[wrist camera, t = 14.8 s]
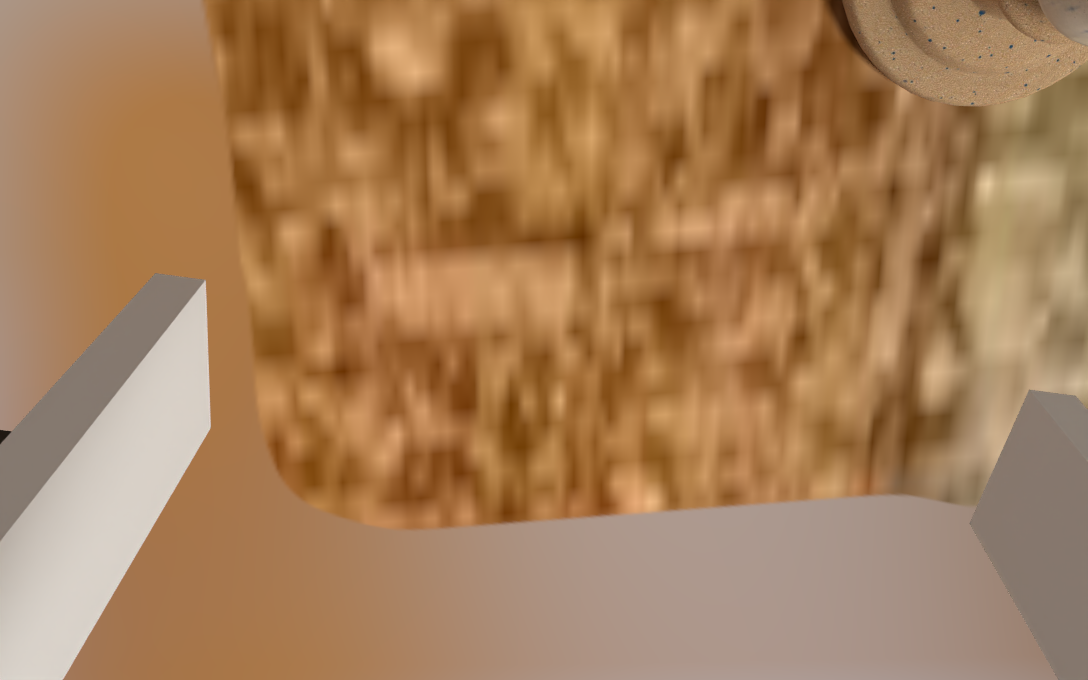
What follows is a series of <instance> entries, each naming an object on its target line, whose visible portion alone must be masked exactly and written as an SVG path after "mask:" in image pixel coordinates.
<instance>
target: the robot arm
mask: <svg viewBox="0 0 1088 680" xmlns="http://www.w3.org/2000/svg"><path fill="white" fill-rule="evenodd" d="M208 364H209V363H208V336H207V305H206V280H202V279H194V278H187V277H179V276H172V275H164V274H157V273H155V274H154V276H153V277H152V278H151V279H150V280H149V281H148V282H147V283H146V284H145V285H144V287H143V288H142V289H141V290H140V291H139V292H138V293H137V294H136V295H135V297H134V298H133V299H132V300H131V301H130V302H129V303H128V304H127V305H126V306H125V307H124V309H123V310H122V311H121V312H120V313H119V314H118V315H117V316H116V318H115V319H114V320H113V321H112V322H111V323H110V324H109V325H108V326H107V328H106V329H104V331H103V332H102V333H101V334H100V335H99V336H98V337H97V338H96V339H95V341H94V342H93V343H92V344H91V345H90V346H89V347H88V348H87V349H86V351H85V352H84V353H83V354H82V355H81V356H80V357H79V358H78V359H77V361H75V363H74V364H73V365H72V366H71V367H70V368H69V369H68V370H67V371H66V372H65V374H64V375H63V376H62V377H61V378H60V379H59V380H58V381H57V382H56V383H55V385H54V386H53V387H52V388H51V389H50V390H49V391H48V392H47V394H46V395H45V396H44V397H43V398H42V399H41V400H40V401H39V402H38V403H37V404H36V406H35V407H34V408H33V409H32V410H31V411H30V412H29V413H28V414H27V415H26V417H25V418H24V419H23V420H22V421H21V422H20V423H19V424H18V425H17V426H16V428H15V429H14V430H13V431H12V432H11V431H3V430H0V680H63V678H64V677H65V675H66V673H67V672H68V670H69V668H70V666H71V665H72V663H73V661H74V659H75V658H76V656H77V654H78V652H79V651H80V649H81V648H82V646H83V644H84V643H85V641H86V639H87V637H88V636H89V634H90V632H91V631H92V629H93V627H94V625H95V624H96V622H97V620H98V619H99V617H100V615H101V614H102V612H103V610H104V608H105V607H106V605H107V603H108V602H109V600H110V598H111V596H112V595H113V593H114V591H115V590H116V588H117V586H118V585H119V583H120V581H121V580H122V578H123V576H124V574H125V573H126V571H127V569H128V568H129V566H130V564H131V563H132V561H133V559H134V557H135V556H136V554H137V552H138V550H139V549H140V547H141V546H142V544H143V542H144V540H145V539H146V537H147V535H148V534H149V532H150V530H151V528H152V527H153V525H154V523H155V521H156V520H157V518H158V517H159V515H160V513H161V511H162V510H163V508H164V506H165V505H166V503H167V501H168V499H169V498H170V496H171V494H172V493H173V491H174V489H175V488H176V486H177V484H178V483H179V481H180V479H181V477H182V476H183V474H184V472H185V471H186V469H187V467H188V465H189V464H190V462H191V460H192V459H193V457H194V455H195V454H196V452H197V450H198V448H199V446H200V445H201V443H202V442H203V440H204V438H205V436H206V435H207V433H208V431H209V430H210V428H211V423H210V394H209V366H208ZM970 525H971V527H972V529H973V531H974V532H975V534H976V536H977V537H978V539H979V541H980V543H981V544H982V546H983V548H984V550H985V552H986V553H987V555H988V557H989V558H990V560H991V562H992V564H993V566H994V567H995V569H996V571H997V573H998V574H999V576H1000V578H1001V580H1002V581H1003V583H1004V585H1005V587H1006V588H1007V590H1008V592H1009V594H1010V596H1011V597H1012V599H1013V601H1014V602H1015V604H1016V606H1017V608H1018V610H1019V611H1020V613H1021V615H1022V617H1023V618H1024V620H1025V622H1026V624H1027V625H1028V627H1029V629H1030V631H1031V632H1032V634H1033V636H1034V638H1035V639H1036V641H1037V643H1038V645H1039V647H1040V648H1041V650H1042V652H1043V653H1044V655H1045V657H1046V659H1047V661H1048V662H1049V664H1050V666H1051V668H1052V669H1053V671H1054V673H1055V675H1056V676H1057V678H1058V680H1088V410H1087V408H1086V407H1085V406H1084V405H1083V404H1082V403H1081V402H1080V400H1079V399H1078V398H1077V397H1076V396H1073V395H1065V394H1058V393H1050V392H1043V391H1035V390H1029V392H1028V394H1027V396H1026V398H1025V401H1024V403H1023V405H1022V407H1021V410H1020V412H1019V414H1018V416H1017V418H1016V421H1015V423H1014V425H1013V427H1012V430H1011V432H1010V434H1009V436H1008V439H1007V441H1006V443H1005V445H1004V447H1003V450H1002V452H1001V454H1000V456H999V459H998V461H997V463H996V465H995V467H994V470H993V472H992V474H991V476H990V479H989V481H988V483H987V485H986V488H985V490H984V492H983V494H982V496H981V499H980V501H979V503H978V505H977V508H976V510H975V512H974V515H973V517H972V519H971V521H970Z"/></svg>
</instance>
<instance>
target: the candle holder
mask: <svg viewBox="0 0 1088 680" xmlns="http://www.w3.org/2000/svg"><path fill="white" fill-rule="evenodd" d="M842 2H843V6H844V9H845V12H846V15H847V19H848V22H849V25H850V28H851V30H852V32H853V34H854V35H855V37H856V39H857V41H858V43H859V45H860V47H861V49H862V50H863V51H864V52H865V54H866V55H867V56H868V58H869V59H870V60H871V62H872V63H873V64H874V65H875V66H876V67H877V68H878V69H879V70H880V71H881V72H882V73H883V74H884V75H885V76H887V77H888V78H889V79H890V80H891V81H893V82H894V83H896V84H897V85H899V86H901V87H902V88H904V89H905V90H907V91H909V92H910V93H913V94H915V95H918V96H920V97H923V98H925V99H928V100H930V101H935V102H939V103H944V104H949V105H955V106H985V105H993V104H1001V103H1005V102H1009V101H1012V100H1016V99H1019V98H1023V97H1026V96H1028V95H1030V94H1033V93H1035V92H1037V91H1040V90H1042V89H1044V88H1046V87H1049V86H1051V85H1052V84H1054V83H1055V82H1057V81H1059V80H1060V79H1062V78H1064V77H1065V76H1067V75H1069V74H1070V73H1072V72H1073V71H1074V70H1076V69H1077V68H1078V67H1079V66H1081V65H1082V64H1083V63H1084V62H1086V61H1087V60H1088V0H842Z"/></svg>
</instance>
